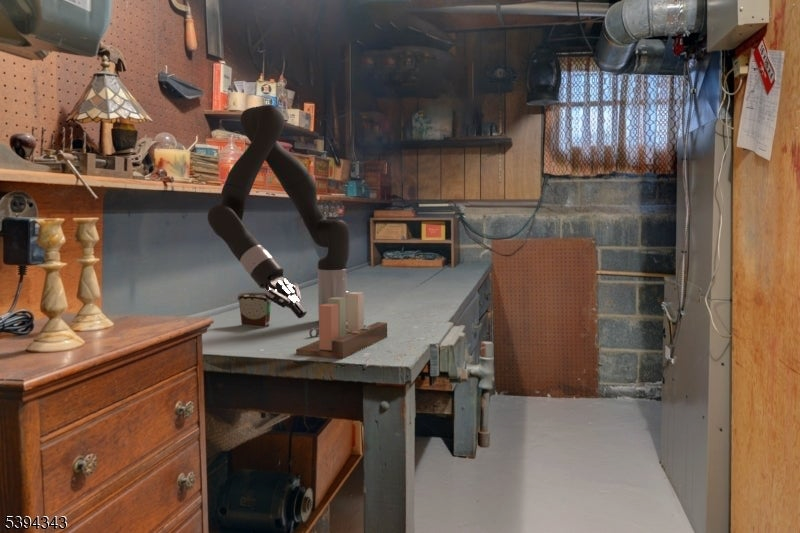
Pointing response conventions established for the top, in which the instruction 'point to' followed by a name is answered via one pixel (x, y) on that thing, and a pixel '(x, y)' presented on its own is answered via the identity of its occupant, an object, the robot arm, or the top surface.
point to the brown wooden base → (348, 342)
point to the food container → (254, 309)
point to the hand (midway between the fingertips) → (303, 315)
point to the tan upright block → (355, 311)
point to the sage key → (340, 314)
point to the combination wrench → (318, 331)
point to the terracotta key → (328, 325)
